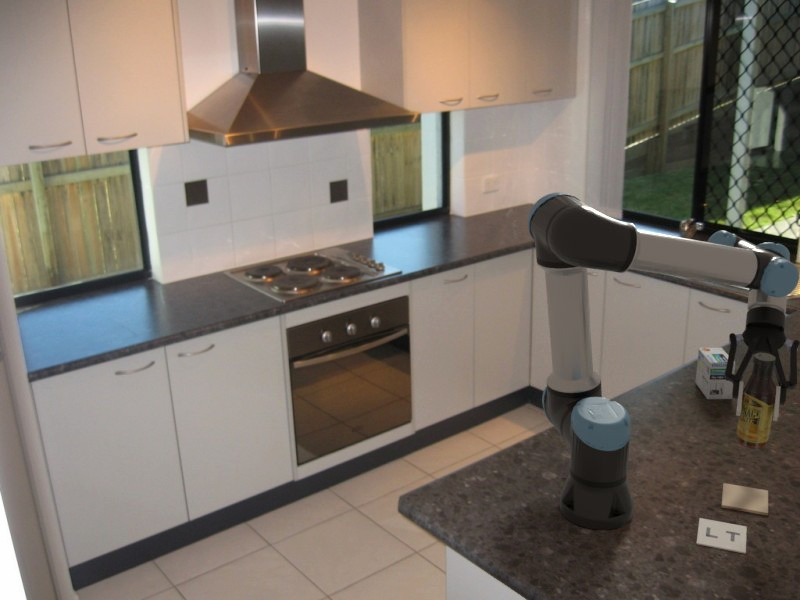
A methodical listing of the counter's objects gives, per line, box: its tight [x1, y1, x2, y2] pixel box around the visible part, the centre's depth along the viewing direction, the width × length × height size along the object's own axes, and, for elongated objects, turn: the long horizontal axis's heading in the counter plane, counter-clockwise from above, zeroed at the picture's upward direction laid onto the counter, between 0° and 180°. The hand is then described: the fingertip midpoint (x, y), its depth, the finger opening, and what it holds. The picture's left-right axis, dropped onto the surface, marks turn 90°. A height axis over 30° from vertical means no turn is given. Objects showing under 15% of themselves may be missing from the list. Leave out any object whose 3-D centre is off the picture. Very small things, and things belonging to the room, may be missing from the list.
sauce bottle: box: [736, 353, 777, 450], centre depth 172 cm, size 7×6×20 cm
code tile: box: [696, 517, 748, 555], centre depth 169 cm, size 9×9×1 cm
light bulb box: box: [695, 347, 737, 400], centre depth 228 cm, size 11×7×11 cm, turn 179°
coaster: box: [721, 482, 769, 516], centre depth 180 cm, size 9×9×1 cm
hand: (756, 416), depth 170 cm, fingers closed on sauce bottle, 6 cm apart
